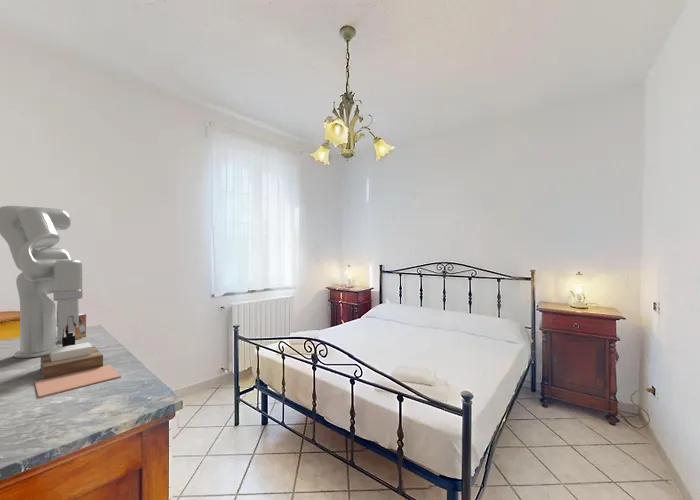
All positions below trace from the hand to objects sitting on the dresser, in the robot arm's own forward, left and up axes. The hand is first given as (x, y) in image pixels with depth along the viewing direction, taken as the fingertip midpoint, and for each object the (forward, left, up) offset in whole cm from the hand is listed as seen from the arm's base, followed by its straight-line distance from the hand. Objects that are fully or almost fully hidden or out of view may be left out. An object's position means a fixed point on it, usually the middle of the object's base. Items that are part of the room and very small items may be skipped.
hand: (68, 347), depth 109 cm
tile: (+6, +3, 0) cm, 7 cm away
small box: (-35, -11, -5) cm, 37 cm away
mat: (+20, +9, -5) cm, 23 cm away
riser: (+7, +3, -5) cm, 9 cm away
